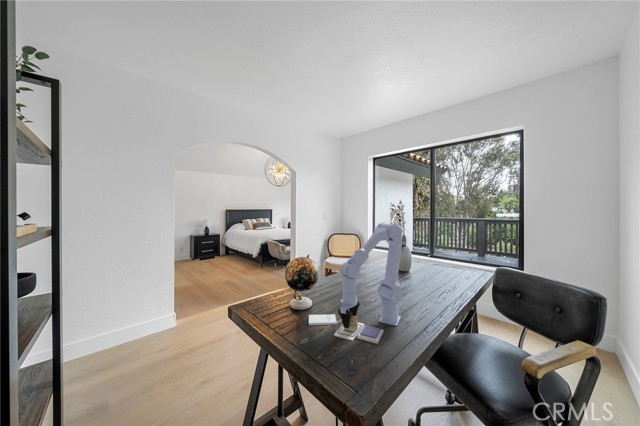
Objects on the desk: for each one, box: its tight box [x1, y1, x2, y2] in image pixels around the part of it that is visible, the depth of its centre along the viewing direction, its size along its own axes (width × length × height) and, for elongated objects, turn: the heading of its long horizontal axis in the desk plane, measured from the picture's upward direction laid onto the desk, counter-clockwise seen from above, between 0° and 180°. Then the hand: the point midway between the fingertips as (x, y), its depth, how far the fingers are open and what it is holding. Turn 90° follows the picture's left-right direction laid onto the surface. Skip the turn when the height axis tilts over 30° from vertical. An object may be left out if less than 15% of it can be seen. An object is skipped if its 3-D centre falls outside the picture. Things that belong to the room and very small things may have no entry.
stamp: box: [344, 315, 359, 333], centre depth 99 cm, size 4×4×5 cm
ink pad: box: [356, 324, 384, 345], centre depth 95 cm, size 9×8×2 cm
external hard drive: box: [308, 313, 338, 326], centre depth 108 cm, size 2×8×12 cm
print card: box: [333, 322, 365, 342], centre depth 99 cm, size 14×8×1 cm, turn 151°
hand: (349, 323), depth 99 cm, fingers open, 7 cm apart
